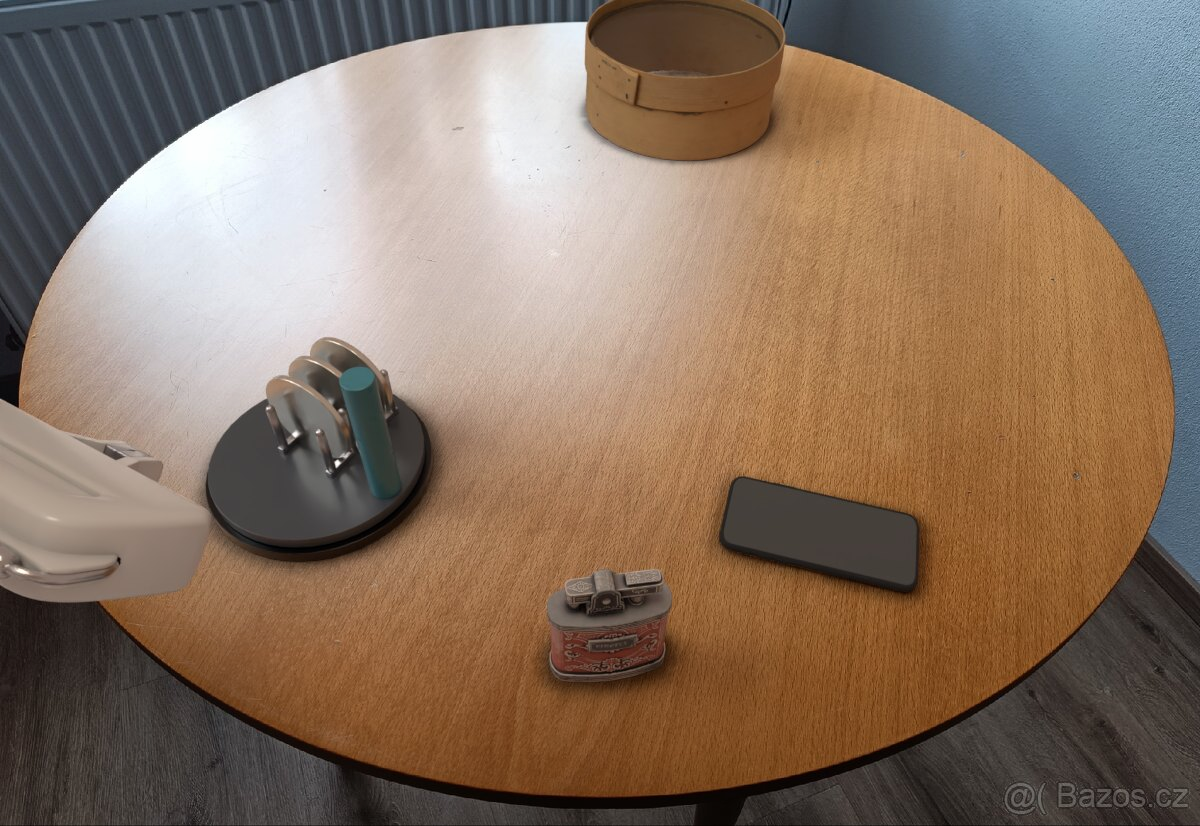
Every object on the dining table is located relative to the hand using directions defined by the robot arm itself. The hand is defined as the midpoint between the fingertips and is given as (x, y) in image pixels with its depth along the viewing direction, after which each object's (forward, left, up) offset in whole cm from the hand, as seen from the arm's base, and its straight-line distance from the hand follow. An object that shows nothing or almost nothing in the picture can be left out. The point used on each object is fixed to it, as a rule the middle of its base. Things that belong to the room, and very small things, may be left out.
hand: (141, 465), depth 45 cm
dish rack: (+15, +6, -19) cm, 25 cm away
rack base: (+15, +6, -20) cm, 26 cm away
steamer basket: (+85, +7, -20) cm, 88 cm away
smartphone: (+29, -32, -20) cm, 47 cm away
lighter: (+12, -22, -20) cm, 32 cm away
